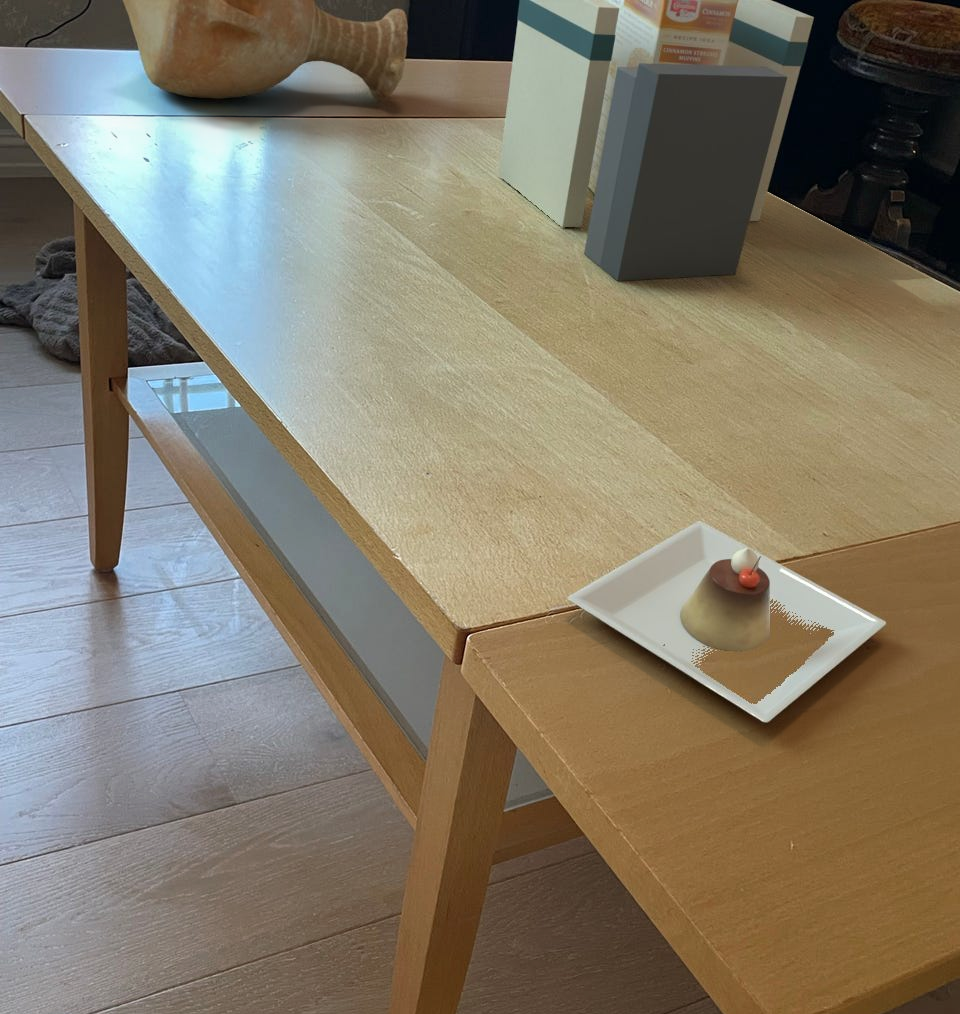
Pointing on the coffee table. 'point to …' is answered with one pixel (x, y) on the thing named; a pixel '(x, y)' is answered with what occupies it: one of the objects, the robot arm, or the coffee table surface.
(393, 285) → the coffee table surface
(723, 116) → the grey books
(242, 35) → the jug
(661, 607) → the dessert
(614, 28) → the cream books
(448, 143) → the coffee table surface
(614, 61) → the coffeecake box
